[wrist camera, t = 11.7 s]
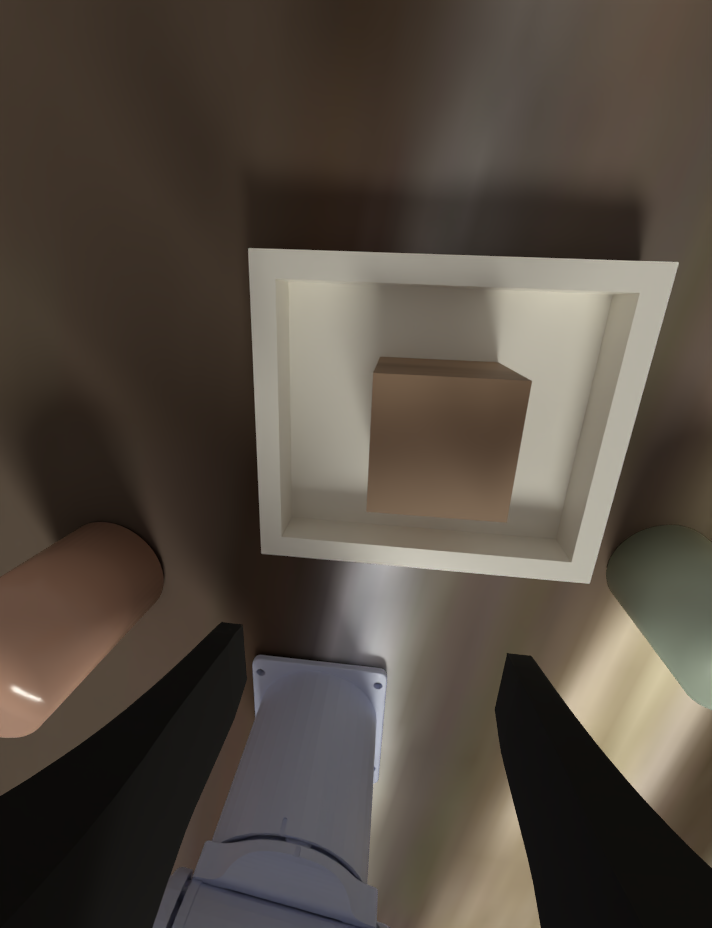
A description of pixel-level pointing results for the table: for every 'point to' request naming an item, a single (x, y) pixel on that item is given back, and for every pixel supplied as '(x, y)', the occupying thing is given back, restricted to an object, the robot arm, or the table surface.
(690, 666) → the sage rounded cylinder
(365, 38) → the table surface
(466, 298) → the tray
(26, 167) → the table surface
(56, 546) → the peach rounded cylinder
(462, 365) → the walnut cube
